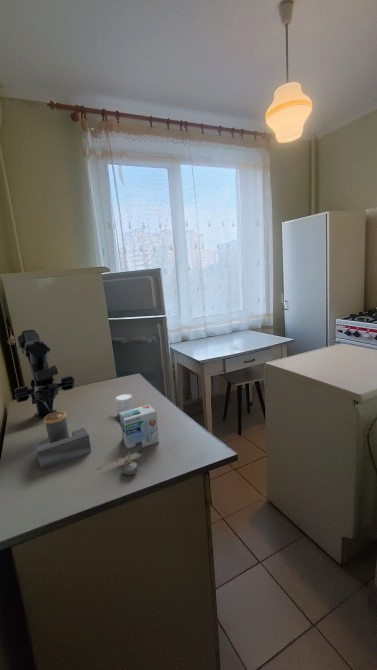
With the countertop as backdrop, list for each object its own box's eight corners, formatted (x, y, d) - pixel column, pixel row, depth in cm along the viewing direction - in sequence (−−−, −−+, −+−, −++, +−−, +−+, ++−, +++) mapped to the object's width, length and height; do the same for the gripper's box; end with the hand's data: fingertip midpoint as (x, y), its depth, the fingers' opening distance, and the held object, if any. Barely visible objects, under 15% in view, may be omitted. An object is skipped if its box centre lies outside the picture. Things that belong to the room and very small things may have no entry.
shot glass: (130, 417, 114) (128, 400, 112) (113, 417, 115) (111, 400, 114) (136, 409, 120) (135, 393, 119) (121, 409, 122) (119, 393, 120)
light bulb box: (127, 453, 90) (123, 420, 88) (122, 443, 96) (118, 412, 94) (160, 442, 95) (156, 410, 93) (152, 433, 101) (149, 403, 99)
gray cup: (47, 443, 96) (42, 415, 94) (68, 437, 100) (63, 409, 98) (51, 452, 91) (45, 422, 89) (72, 445, 94) (67, 416, 93)
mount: (31, 449, 96) (27, 429, 95) (81, 432, 105) (78, 414, 104) (38, 478, 82) (34, 455, 80) (96, 455, 90) (93, 434, 89)
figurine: (138, 476, 79) (134, 454, 79) (121, 480, 78) (118, 458, 78) (137, 467, 84) (134, 446, 84) (122, 470, 83) (118, 450, 83)
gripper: (9, 365, 96) (18, 408, 89) (69, 354, 106) (81, 391, 99) (12, 382, 104) (20, 422, 98) (67, 370, 114) (79, 405, 107)
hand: (51, 410), depth 100 cm, fingers closed
